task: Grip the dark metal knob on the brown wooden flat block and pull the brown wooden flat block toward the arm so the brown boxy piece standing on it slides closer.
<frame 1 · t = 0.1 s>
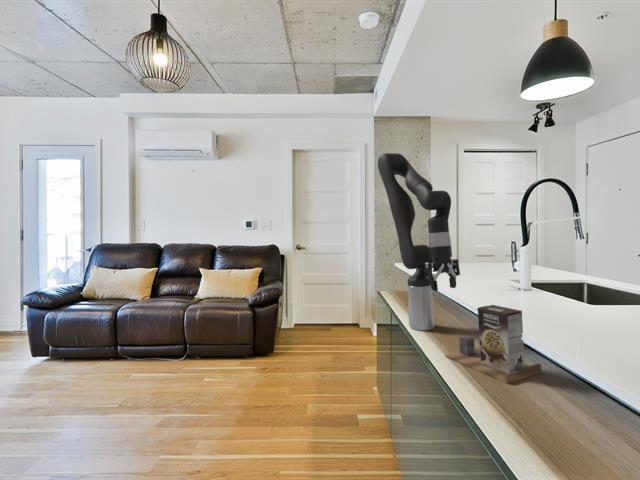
hand: (444, 289, 119), 17 cm above the worktop, tool pointing down, fingers open, 8 cm apart
brown wooden flat block: (489, 354, 93), point 3 cm above the worktop, slide at 0.5 cm, touching brown boxy piece
brown boxy piece: (502, 367, 89), resting on brown wooden flat block
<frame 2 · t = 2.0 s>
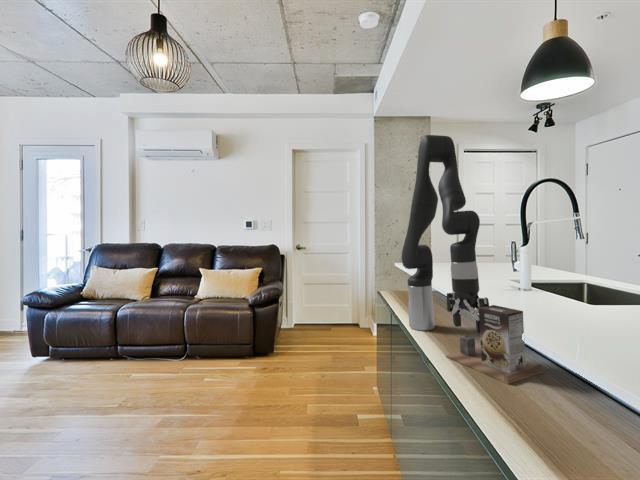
hand: (468, 329, 100), 8 cm above the worktop, tool pointing down, fingers open, 8 cm apart
nothing on the worktop moved.
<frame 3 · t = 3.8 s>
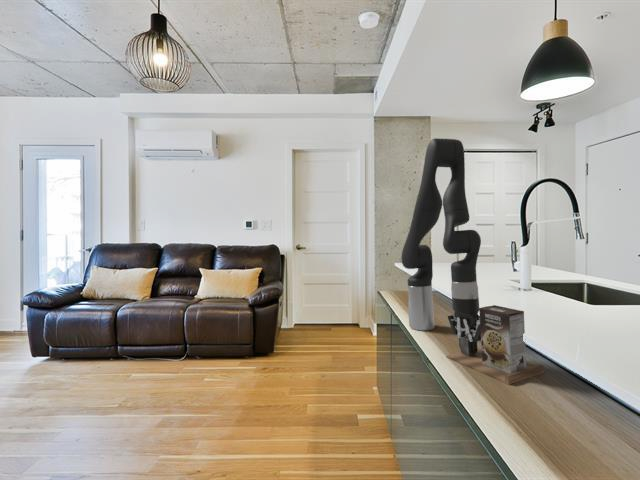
hand: (468, 351, 100), 1 cm above the worktop, tool pointing down, fingers closed on brown wooden flat block, 3 cm apart
brown wooden flat block: (490, 354, 93), point 3 cm above the worktop, slide at 0.0 cm, touching brown boxy piece, gripper
everything else where it was.
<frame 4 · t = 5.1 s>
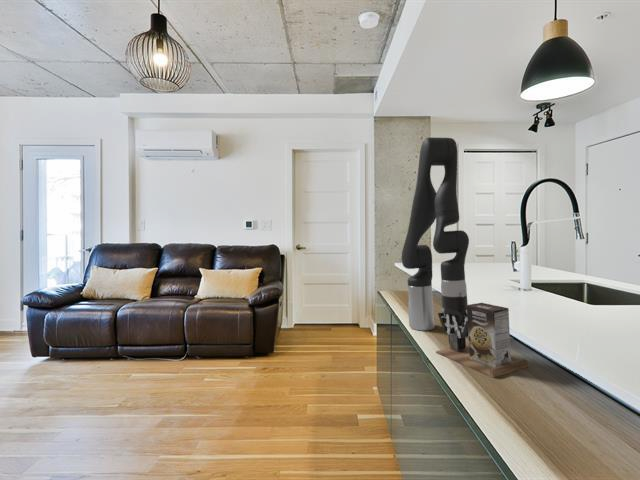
hand: (457, 346, 104), 1 cm above the worktop, tool pointing down, fingers closed on brown wooden flat block, 3 cm apart
brown wooden flat block: (477, 350, 97), point 3 cm above the worktop, slide at 4.5 cm, touching brown boxy piece, gripper
brown boxy piece: (490, 363, 93), resting on brown wooden flat block
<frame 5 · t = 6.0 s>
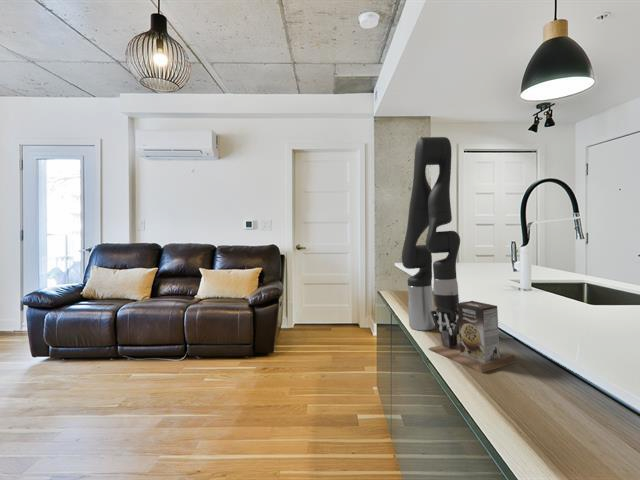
hand: (449, 343, 108), 1 cm above the worktop, tool pointing down, fingers closed on brown wooden flat block, 3 cm apart
brown wooden flat block: (468, 346, 100), point 3 cm above the worktop, slide at 8.0 cm, touching brown boxy piece, gripper
brown boxy piece: (479, 359, 96), resting on brown wooden flat block
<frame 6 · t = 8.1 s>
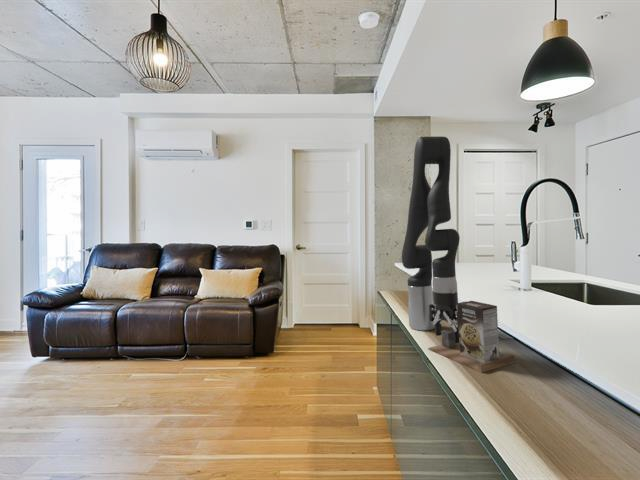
hand: (447, 338, 108), 3 cm above the worktop, tool pointing down, fingers open, 8 cm apart
brown wooden flat block: (468, 346, 100), point 3 cm above the worktop, slide at 8.1 cm, touching brown boxy piece
everything else where it was.
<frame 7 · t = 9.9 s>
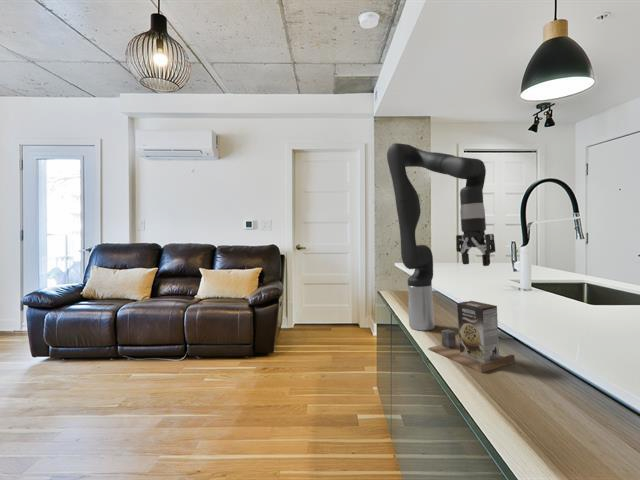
hand: (475, 265, 111), 26 cm above the worktop, tool pointing down, fingers open, 8 cm apart
nothing on the worktop moved.
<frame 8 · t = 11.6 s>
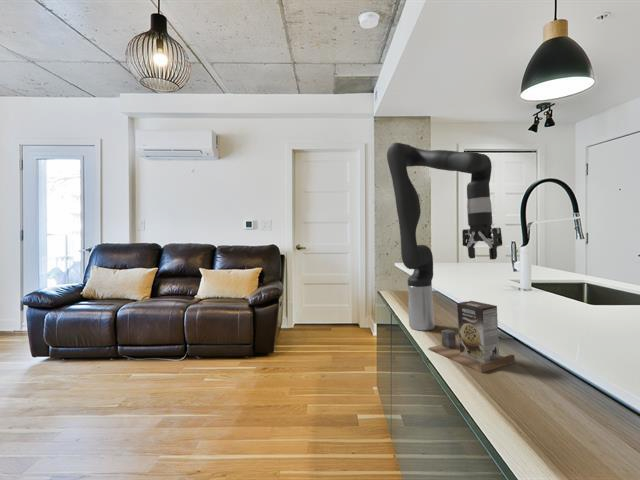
hand: (482, 258, 112), 28 cm above the worktop, tool pointing down, fingers open, 8 cm apart
nothing on the worktop moved.
at the end: brown wooden flat block slide at 8.1 cm; brown boxy piece inside the target area (0.5 cm from its centre), resting on brown wooden flat block; brown boxy piece tilted 0° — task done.
